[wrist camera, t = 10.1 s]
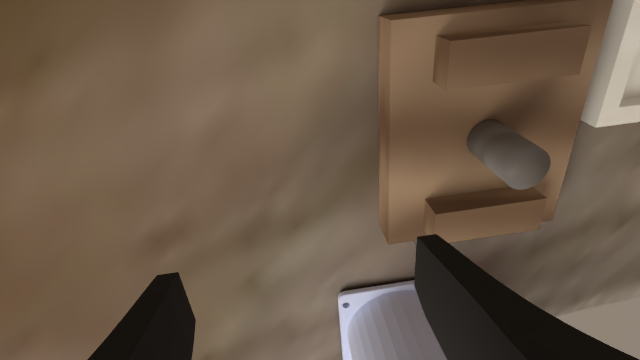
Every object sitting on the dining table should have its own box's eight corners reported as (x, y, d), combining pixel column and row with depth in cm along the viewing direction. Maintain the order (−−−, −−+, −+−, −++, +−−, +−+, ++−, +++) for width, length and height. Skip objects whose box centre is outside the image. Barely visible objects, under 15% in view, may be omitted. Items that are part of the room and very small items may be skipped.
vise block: (528, 216, 25) (591, 275, 20) (379, 238, 24) (407, 304, 19) (580, -6, 18) (694, 2, 13) (378, 15, 17) (420, 32, 13)
